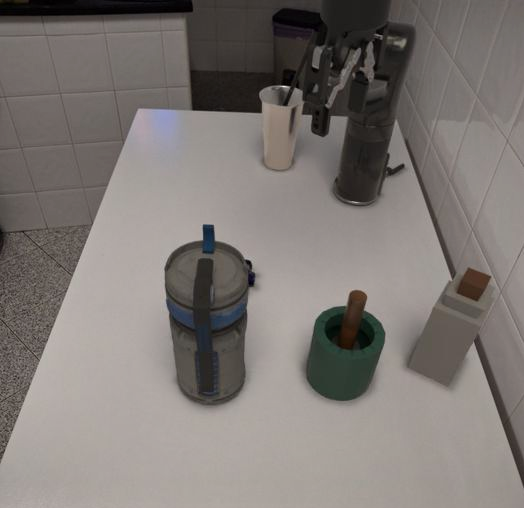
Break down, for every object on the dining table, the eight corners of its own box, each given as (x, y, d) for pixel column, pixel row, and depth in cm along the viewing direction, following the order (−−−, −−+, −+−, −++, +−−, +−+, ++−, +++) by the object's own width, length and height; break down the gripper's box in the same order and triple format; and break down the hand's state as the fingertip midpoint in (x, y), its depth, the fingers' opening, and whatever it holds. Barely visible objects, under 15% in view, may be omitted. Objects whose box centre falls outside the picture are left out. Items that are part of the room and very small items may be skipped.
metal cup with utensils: (300, 180, 114) (318, 30, 91) (251, 172, 115) (256, 22, 92) (307, 156, 121) (325, 11, 98) (261, 149, 122) (268, 4, 99)
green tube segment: (343, 341, 84) (355, 297, 76) (383, 383, 78) (400, 341, 71) (293, 365, 80) (300, 321, 72) (331, 411, 75) (343, 369, 67)
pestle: (340, 356, 80) (360, 280, 68) (358, 375, 78) (382, 300, 66) (318, 367, 79) (334, 291, 67) (335, 387, 76) (355, 312, 64)
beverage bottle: (172, 421, 72) (151, 293, 53) (181, 350, 81) (166, 217, 62) (243, 423, 72) (248, 296, 53) (246, 352, 81) (250, 221, 62)
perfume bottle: (448, 386, 79) (494, 303, 65) (407, 367, 81) (443, 282, 67) (461, 358, 82) (508, 274, 69) (422, 340, 84) (459, 255, 71)
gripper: (355, -7, 48) (331, 154, 61) (424, -37, 55) (390, 112, 68) (291, -24, 51) (281, 133, 63) (365, -50, 58) (343, 95, 71)
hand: (338, 122), depth 66 cm, fingers open, 8 cm apart
